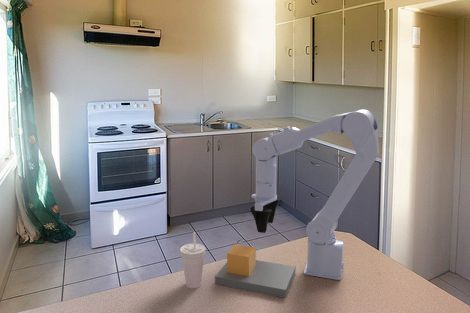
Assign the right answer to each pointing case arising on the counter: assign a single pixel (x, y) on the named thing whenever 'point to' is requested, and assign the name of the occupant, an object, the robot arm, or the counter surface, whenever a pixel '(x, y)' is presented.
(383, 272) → the counter surface
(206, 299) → the counter surface
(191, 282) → the smoothie
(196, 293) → the counter surface
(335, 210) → the robot arm
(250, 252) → the amber cube
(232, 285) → the flat grey tile
